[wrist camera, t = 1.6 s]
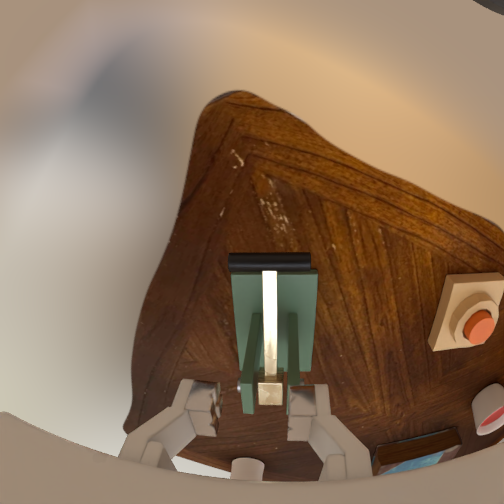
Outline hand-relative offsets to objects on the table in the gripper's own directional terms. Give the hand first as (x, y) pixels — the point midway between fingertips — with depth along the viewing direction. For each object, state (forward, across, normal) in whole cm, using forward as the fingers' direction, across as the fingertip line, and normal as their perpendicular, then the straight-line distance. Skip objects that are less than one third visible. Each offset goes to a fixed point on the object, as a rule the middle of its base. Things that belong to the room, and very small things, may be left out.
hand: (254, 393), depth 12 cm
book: (+21, -29, +53) cm, 64 cm away
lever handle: (+13, 0, +7) cm, 14 cm away
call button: (+21, -25, +11) cm, 35 cm away
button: (+17, -25, +11) cm, 32 cm away
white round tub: (+21, -40, +32) cm, 55 cm away
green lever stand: (+21, 0, +12) cm, 24 cm away
